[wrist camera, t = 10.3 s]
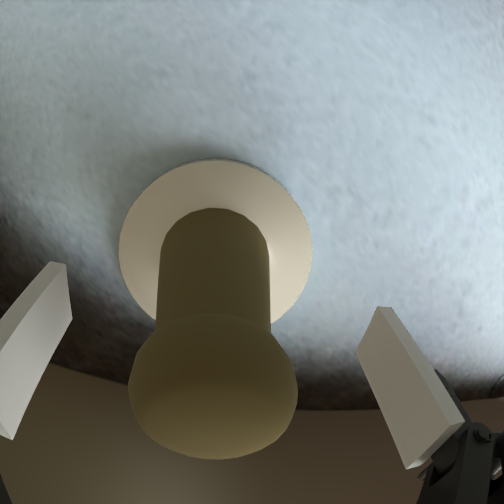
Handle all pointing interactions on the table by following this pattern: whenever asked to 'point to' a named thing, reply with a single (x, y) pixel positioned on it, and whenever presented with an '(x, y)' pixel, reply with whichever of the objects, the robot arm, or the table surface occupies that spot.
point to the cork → (213, 344)
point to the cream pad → (216, 196)
